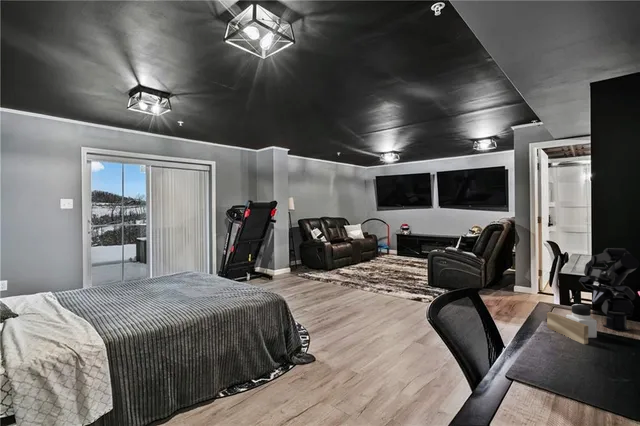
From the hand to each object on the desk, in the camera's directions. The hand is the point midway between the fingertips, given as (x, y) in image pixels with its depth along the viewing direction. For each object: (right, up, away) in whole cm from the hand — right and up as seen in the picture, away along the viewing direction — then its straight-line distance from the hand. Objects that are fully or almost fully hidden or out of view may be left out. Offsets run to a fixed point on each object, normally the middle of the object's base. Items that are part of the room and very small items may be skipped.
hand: (593, 303), depth 131 cm
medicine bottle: (-6, -13, -1) cm, 14 cm away
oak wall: (-13, -13, -2) cm, 18 cm away
